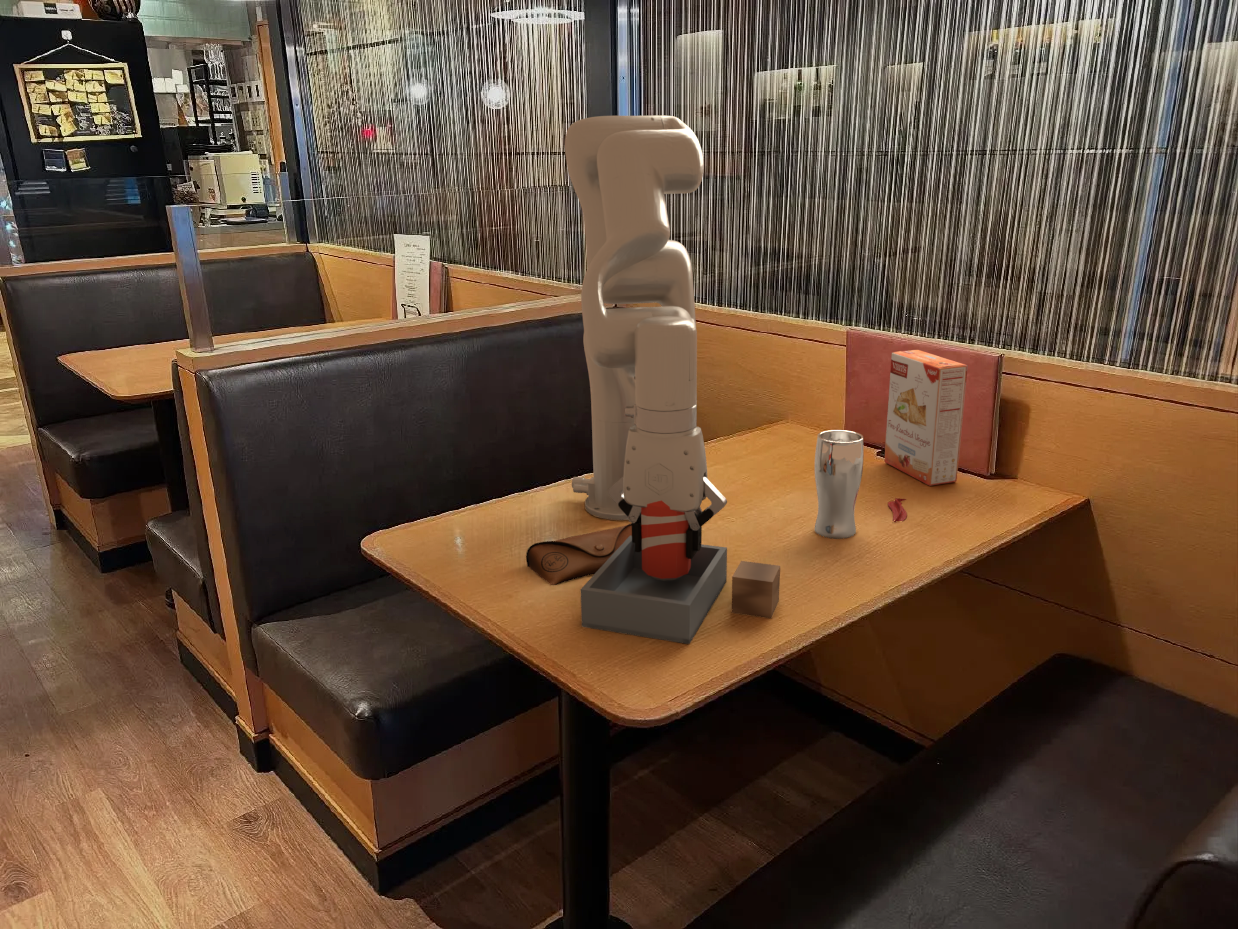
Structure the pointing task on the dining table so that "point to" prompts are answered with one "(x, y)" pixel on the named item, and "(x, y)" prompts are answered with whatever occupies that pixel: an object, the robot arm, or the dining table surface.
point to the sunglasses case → (575, 554)
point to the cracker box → (925, 416)
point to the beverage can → (664, 542)
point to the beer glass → (837, 481)
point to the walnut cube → (755, 589)
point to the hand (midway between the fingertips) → (666, 550)
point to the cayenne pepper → (897, 510)
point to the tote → (653, 595)
